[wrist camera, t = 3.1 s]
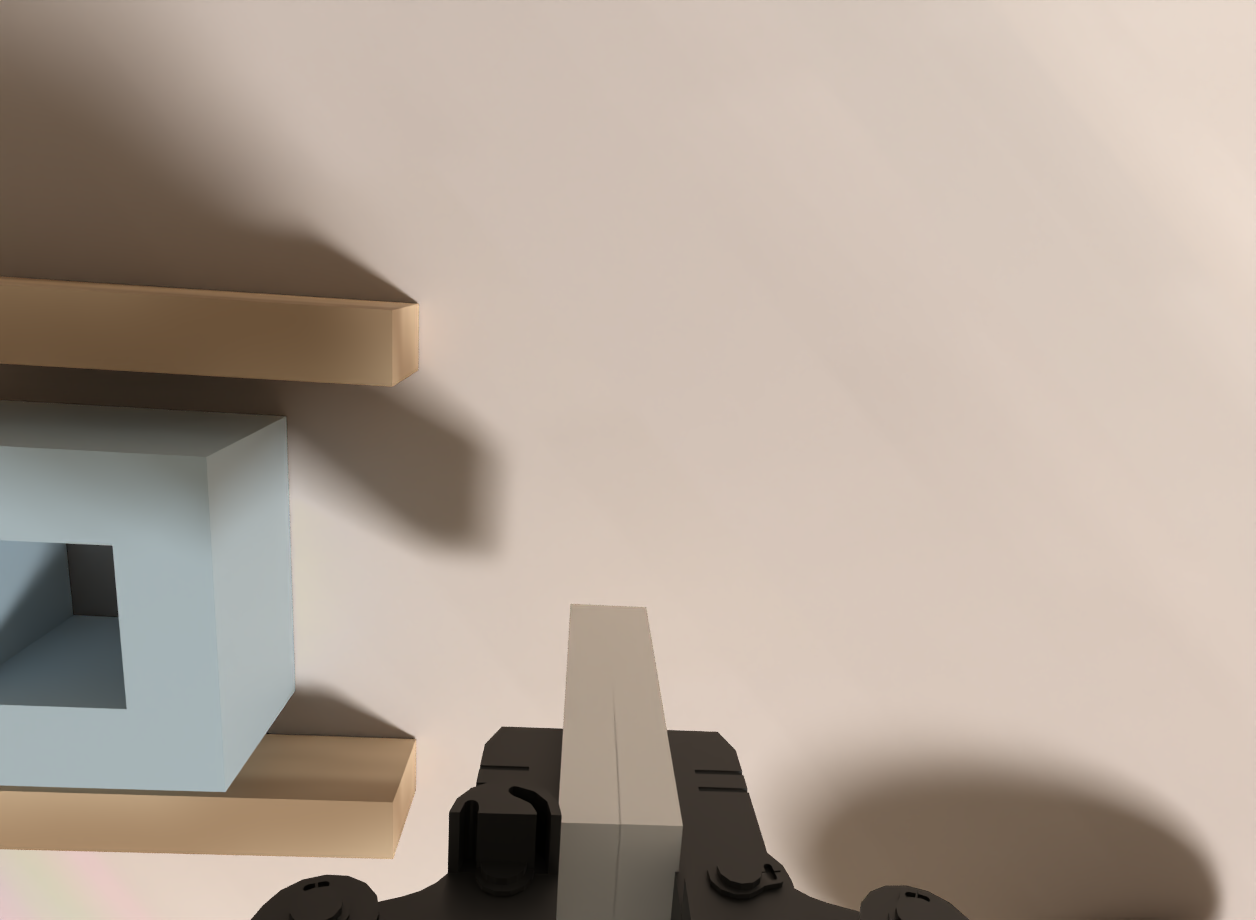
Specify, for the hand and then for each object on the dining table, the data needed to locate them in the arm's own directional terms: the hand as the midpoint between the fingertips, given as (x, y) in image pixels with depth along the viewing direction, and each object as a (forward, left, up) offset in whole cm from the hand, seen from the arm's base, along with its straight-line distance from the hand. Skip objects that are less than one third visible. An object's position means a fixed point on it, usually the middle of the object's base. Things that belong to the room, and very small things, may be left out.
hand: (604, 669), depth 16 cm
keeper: (0, -11, -4) cm, 12 cm away
